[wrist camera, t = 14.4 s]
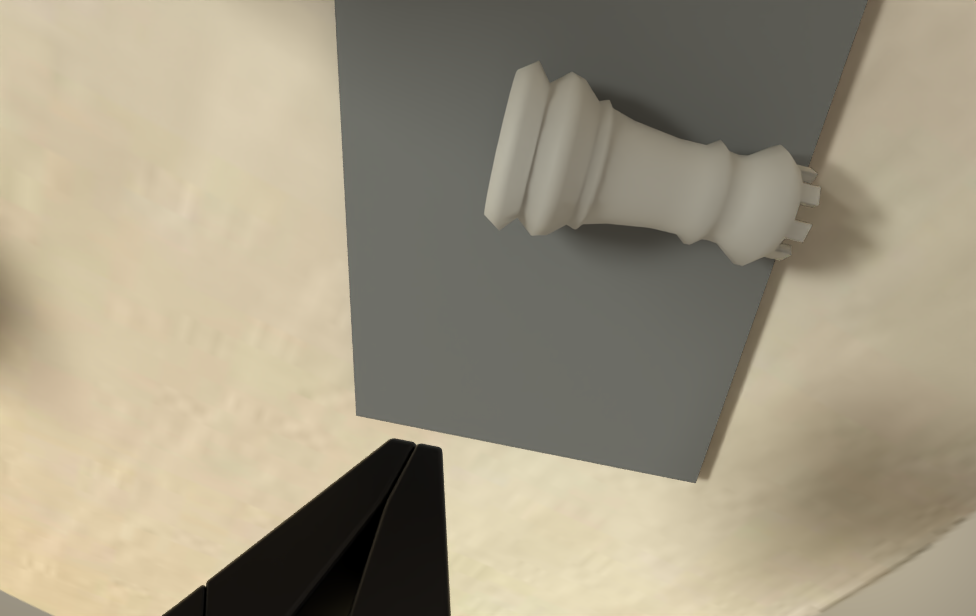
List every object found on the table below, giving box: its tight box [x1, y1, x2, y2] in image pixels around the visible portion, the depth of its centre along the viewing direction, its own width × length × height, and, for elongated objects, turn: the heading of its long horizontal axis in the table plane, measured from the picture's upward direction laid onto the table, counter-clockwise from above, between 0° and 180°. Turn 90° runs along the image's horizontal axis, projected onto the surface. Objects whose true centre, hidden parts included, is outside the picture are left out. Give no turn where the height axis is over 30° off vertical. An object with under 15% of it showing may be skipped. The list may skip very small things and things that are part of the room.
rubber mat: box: [335, 0, 868, 483], centre depth 19 cm, size 18×14×1 cm
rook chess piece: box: [484, 61, 821, 266], centre depth 15 cm, size 4×4×8 cm
